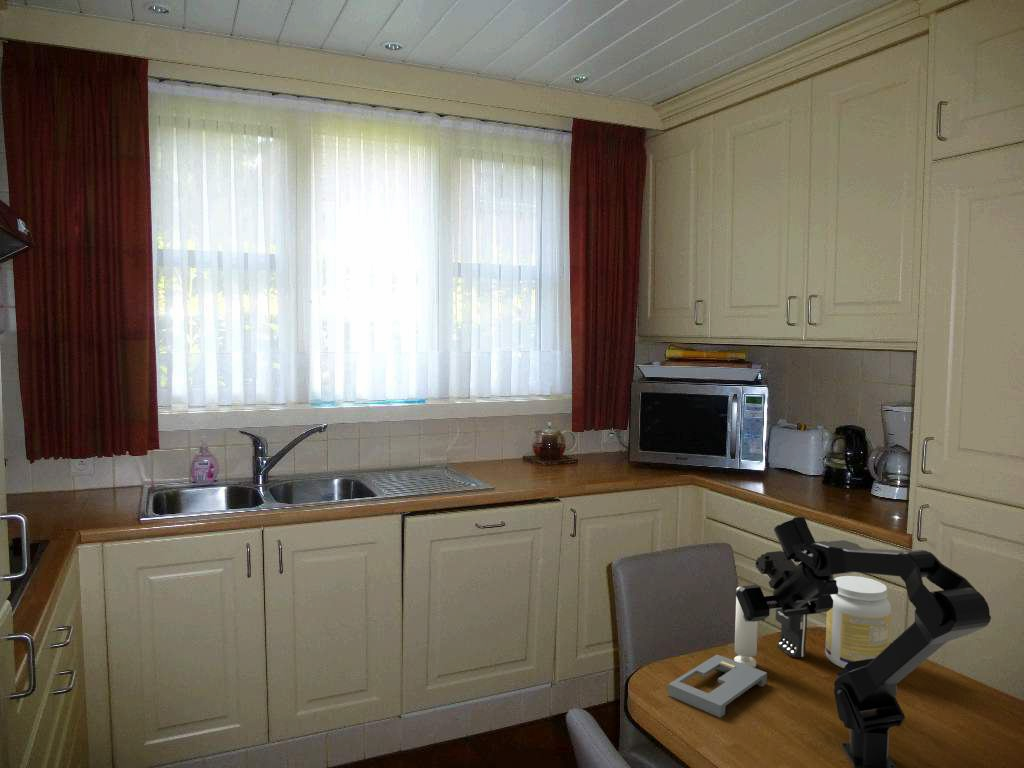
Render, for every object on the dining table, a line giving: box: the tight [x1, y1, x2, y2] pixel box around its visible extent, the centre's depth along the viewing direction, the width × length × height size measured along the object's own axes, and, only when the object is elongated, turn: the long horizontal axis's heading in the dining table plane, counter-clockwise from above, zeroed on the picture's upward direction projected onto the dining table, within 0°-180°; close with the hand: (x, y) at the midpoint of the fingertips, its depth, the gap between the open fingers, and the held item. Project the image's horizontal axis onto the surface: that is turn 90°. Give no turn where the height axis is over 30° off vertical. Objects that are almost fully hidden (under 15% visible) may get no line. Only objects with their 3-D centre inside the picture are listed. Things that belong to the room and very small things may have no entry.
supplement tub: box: [824, 575, 892, 669], centre depth 155 cm, size 12×12×17 cm
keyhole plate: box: [667, 654, 768, 719], centre depth 144 cm, size 18×11×2 cm, turn 135°
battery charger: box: [775, 608, 808, 658], centre depth 160 cm, size 7×4×11 cm, turn 13°
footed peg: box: [733, 586, 759, 668], centre depth 154 cm, size 4×4×16 cm
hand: (764, 616), depth 148 cm, fingers open, 9 cm apart
